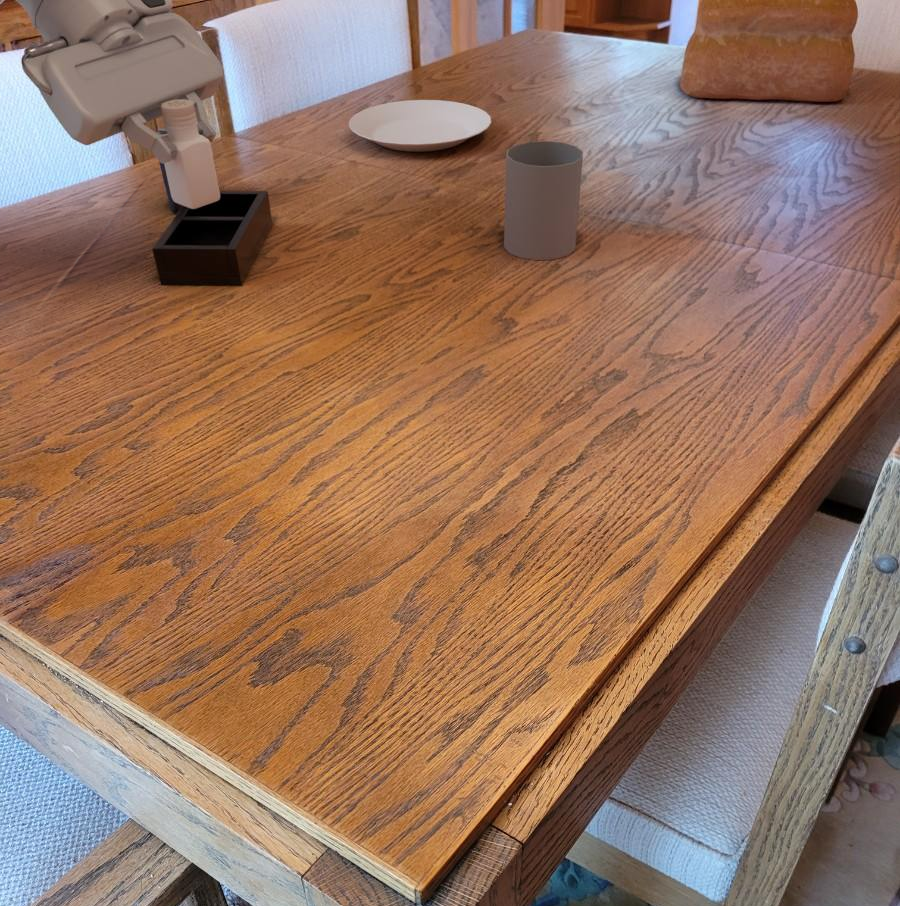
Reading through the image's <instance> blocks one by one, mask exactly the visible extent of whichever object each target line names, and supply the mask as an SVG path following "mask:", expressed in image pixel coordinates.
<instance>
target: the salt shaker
mask: <svg viewBox="0 0 900 906" xmlns="http://www.w3.org/2000/svg"><path fill="white" fill-rule="evenodd" d="M161 109H162V114H163V116H162V117H163V123H164V127H165V126H166V128H167V133H168V137H169V138H170V139H171V141H172V143H173V144H175V146H176V147H177V149H178V151H177V154H176V155H175V158H174V159H173V160H171V161H169V162H166V163H164V165H165V170H166V175H167V179H168V184H169V188H170V193H171V197H172V199H173V201H174V202H175V203H178V204H180V205H183V206H185V207H188V208H190V209H196V208H199V207H202V206H204V205H207V204H210V203H213V202H216V201H218V200H219V199H220V191H221V190H220V187H219V181H218V175H217V171H216V170H217V169H216V165H215V159H214V155H213V154H214V153H213V149H212V142H211V143H210V141H209V139H207V138H206V137H204V136H203V135H200V134H199V133H198V128H197V117H196V112H195V107H194V103H193V102H192V101H190V100H184V99H181V100H171V101H167V102H164V103H162V105H161Z"/></svg>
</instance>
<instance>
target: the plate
mask: <svg viewBox="0 0 900 906" xmlns="http://www.w3.org/2000/svg"><path fill="white" fill-rule="evenodd" d="M491 125H492V117H491V116H490V114H488V112H487V111H485V110H484V109H481V108H479V107H477V106H473V105H471V104H468V103H463V102H458V101H452V100H451V101H450V100H442V99H441V100H440V99H413V100H412V99H410V100H400V101H392V102H387V103H382V104H378V105H377V104H376V105H374V106H371V107H368V108H364V109H363V110H361V111H359V112H357V113H355V114H354V115H353V116H352V117H350V119H349V122H348V127H349V128H350V130H351V131H352V132H353V133H354V134H355V135H357V136H359V137H362V138H364V139H366V140H369V141H371V142H374V143H375V144H377V145H379V146H382V147H383V148H387V149H390V150H395V151H402V152H409V153H410V152H412V153H413V152H414V153H415V152H417V153H423V152H434V151H441V150H446V149H449V148H450V149H451V148H453V147H456V146H459V145H460V144H463V143H464V142H466V141H467V140H469V139H471V138H473V137H475V136H478V135H480V134H482V133H483V132H484V131H486V130H488V129H489V128H490V126H491Z"/></svg>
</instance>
